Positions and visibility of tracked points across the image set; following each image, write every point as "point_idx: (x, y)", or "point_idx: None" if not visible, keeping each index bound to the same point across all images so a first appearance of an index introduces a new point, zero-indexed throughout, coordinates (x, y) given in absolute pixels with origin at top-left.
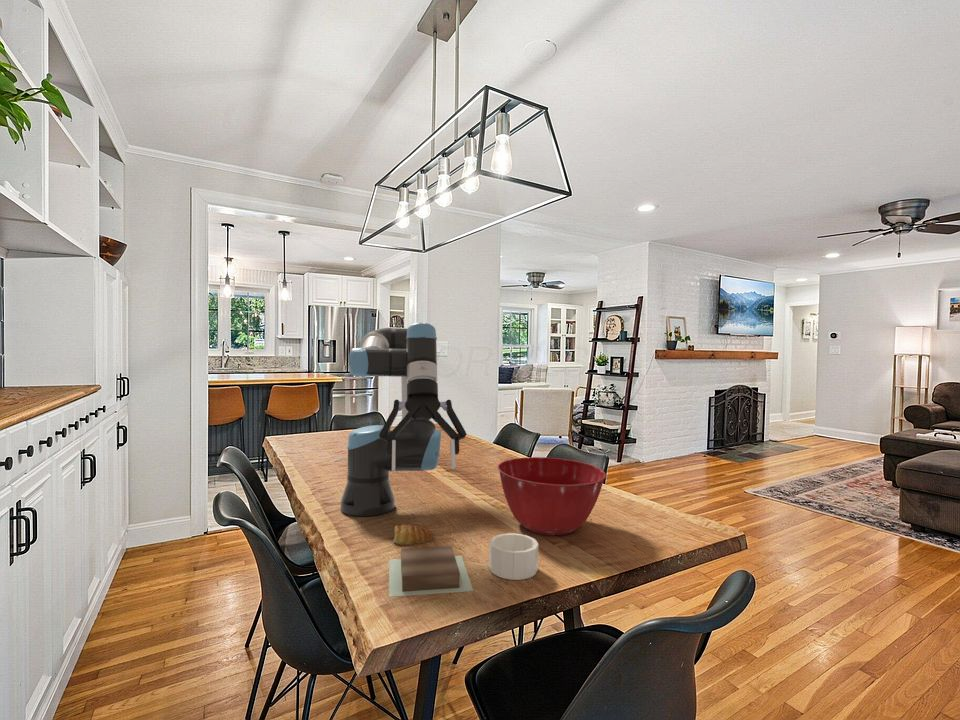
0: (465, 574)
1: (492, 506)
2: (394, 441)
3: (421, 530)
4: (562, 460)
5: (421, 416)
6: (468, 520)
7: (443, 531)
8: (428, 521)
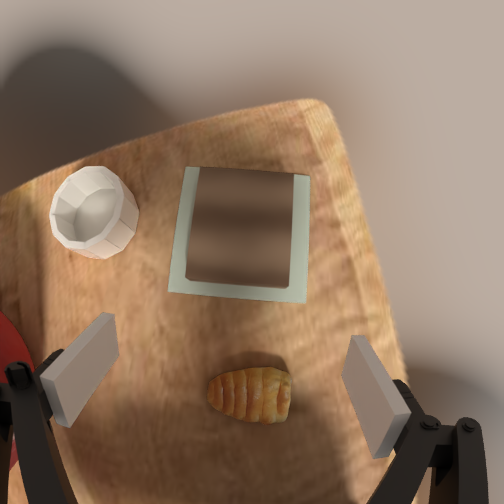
0: (180, 217)
1: None
2: (397, 410)
3: (230, 391)
4: None
5: None
6: (120, 456)
7: (178, 421)
8: (202, 475)
